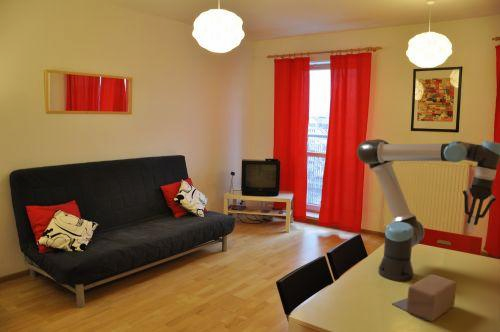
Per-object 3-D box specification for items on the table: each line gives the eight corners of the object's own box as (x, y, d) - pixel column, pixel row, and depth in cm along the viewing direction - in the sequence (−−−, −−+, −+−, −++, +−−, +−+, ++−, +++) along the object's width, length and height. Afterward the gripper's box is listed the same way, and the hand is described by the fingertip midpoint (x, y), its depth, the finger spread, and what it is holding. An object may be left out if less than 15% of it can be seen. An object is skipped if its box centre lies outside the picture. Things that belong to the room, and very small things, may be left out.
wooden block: (431, 272, 160) (407, 285, 147) (457, 281, 153) (435, 295, 140) (429, 296, 162) (405, 311, 148) (454, 305, 154) (432, 322, 141)
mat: (420, 294, 164) (420, 293, 164) (453, 308, 153) (453, 307, 153) (391, 304, 155) (391, 303, 155) (424, 320, 143) (424, 319, 143)
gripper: (465, 174, 170) (452, 228, 173) (501, 182, 163) (486, 237, 166) (467, 174, 176) (454, 225, 179) (502, 181, 169) (487, 235, 172)
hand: (469, 231), depth 173 cm, fingers closed
